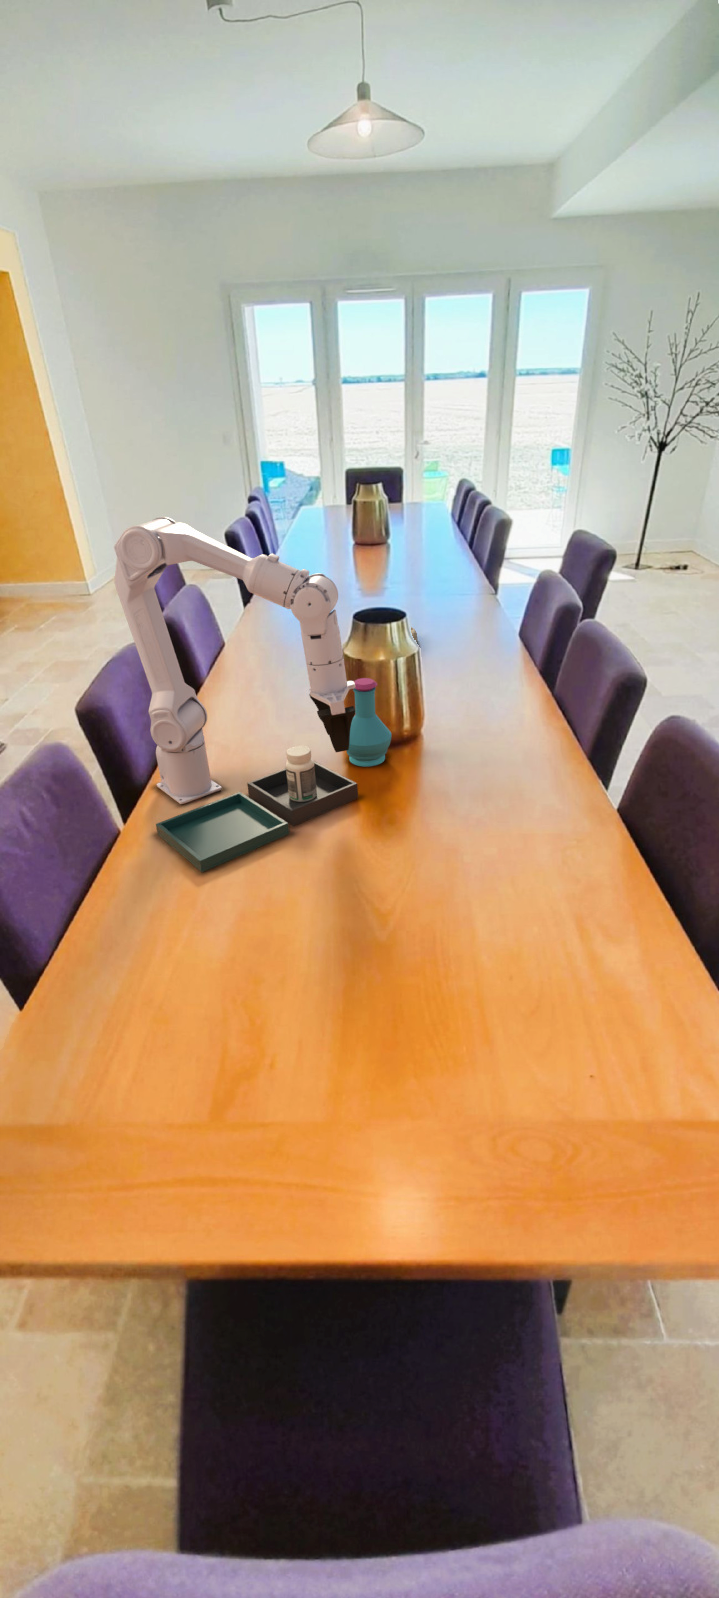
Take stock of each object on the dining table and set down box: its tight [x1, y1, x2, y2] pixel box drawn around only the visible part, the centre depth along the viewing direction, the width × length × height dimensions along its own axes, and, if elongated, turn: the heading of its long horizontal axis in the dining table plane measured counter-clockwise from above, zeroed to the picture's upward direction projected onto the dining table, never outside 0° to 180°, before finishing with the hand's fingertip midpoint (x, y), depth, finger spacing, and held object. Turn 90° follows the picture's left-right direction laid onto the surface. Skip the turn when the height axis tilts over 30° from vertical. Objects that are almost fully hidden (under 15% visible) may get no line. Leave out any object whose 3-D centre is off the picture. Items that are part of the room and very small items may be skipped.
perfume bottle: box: [345, 677, 392, 768], centre depth 130 cm, size 9×9×15 cm
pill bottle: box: [285, 745, 317, 802], centre depth 119 cm, size 5×5×8 cm
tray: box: [155, 791, 290, 873], centre depth 111 cm, size 14×15×2 cm
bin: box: [246, 760, 359, 827], centre depth 120 cm, size 13×13×3 cm
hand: (337, 741), depth 115 cm, fingers open, 7 cm apart
